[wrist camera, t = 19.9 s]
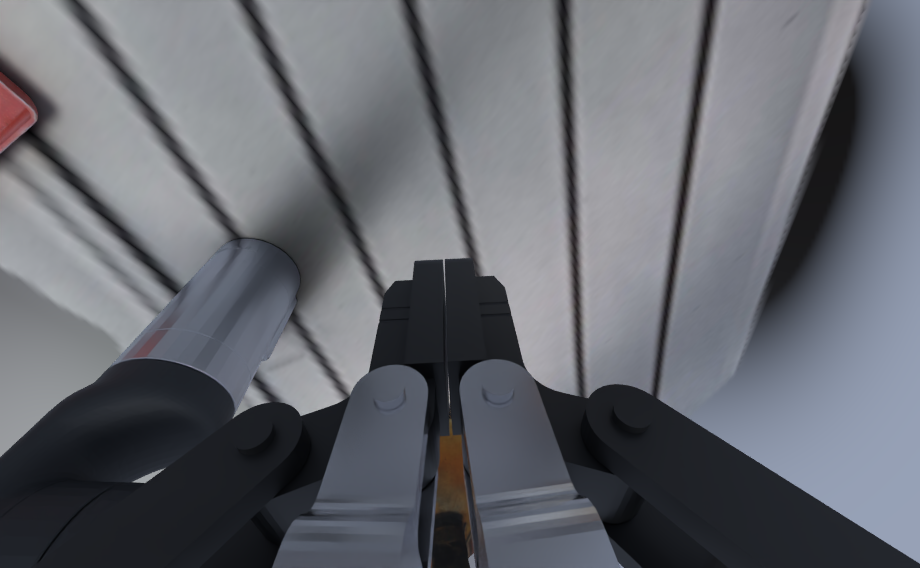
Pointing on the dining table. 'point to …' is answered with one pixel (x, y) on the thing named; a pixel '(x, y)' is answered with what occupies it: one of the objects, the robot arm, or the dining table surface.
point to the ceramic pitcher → (451, 508)
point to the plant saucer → (14, 112)
